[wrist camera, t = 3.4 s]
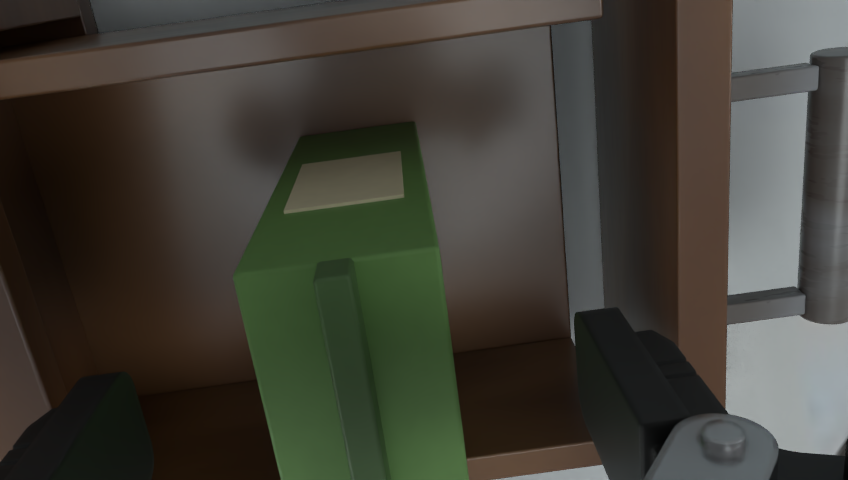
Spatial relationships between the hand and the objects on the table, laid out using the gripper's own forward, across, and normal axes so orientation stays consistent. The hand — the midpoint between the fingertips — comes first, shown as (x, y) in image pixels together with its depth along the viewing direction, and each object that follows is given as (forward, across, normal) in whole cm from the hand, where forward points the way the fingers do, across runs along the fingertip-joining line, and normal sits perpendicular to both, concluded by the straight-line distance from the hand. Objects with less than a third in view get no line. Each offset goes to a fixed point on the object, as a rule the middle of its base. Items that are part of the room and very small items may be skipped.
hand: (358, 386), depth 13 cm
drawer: (+11, -1, 0) cm, 11 cm away
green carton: (+10, 0, 0) cm, 10 cm away
